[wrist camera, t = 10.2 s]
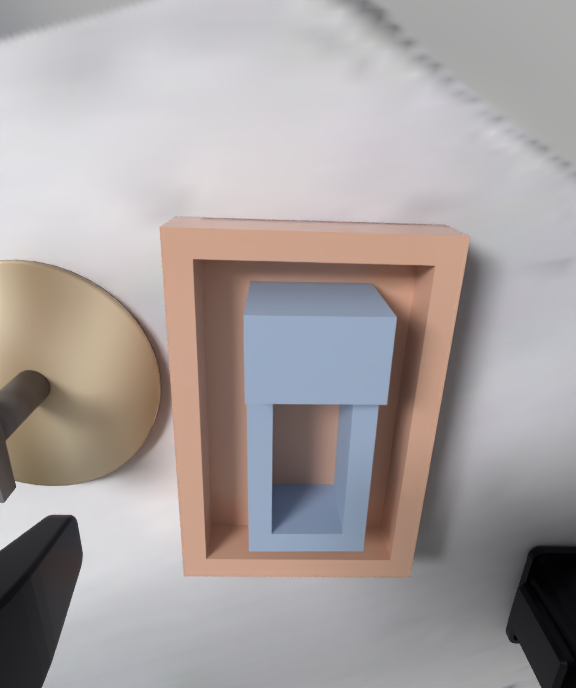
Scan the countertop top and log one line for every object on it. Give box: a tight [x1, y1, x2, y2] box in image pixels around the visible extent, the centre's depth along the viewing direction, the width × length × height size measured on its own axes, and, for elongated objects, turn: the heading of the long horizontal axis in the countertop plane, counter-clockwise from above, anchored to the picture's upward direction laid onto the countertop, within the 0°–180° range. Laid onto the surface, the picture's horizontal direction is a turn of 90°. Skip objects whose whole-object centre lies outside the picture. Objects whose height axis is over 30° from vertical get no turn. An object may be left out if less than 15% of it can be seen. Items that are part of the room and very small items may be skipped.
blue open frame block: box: [243, 281, 397, 551], centre depth 18 cm, size 10×5×4 cm, turn 179°
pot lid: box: [0, 260, 161, 503], centre depth 17 cm, size 10×10×5 cm
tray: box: [160, 217, 470, 577], centre depth 19 cm, size 10×15×2 cm, turn 178°
